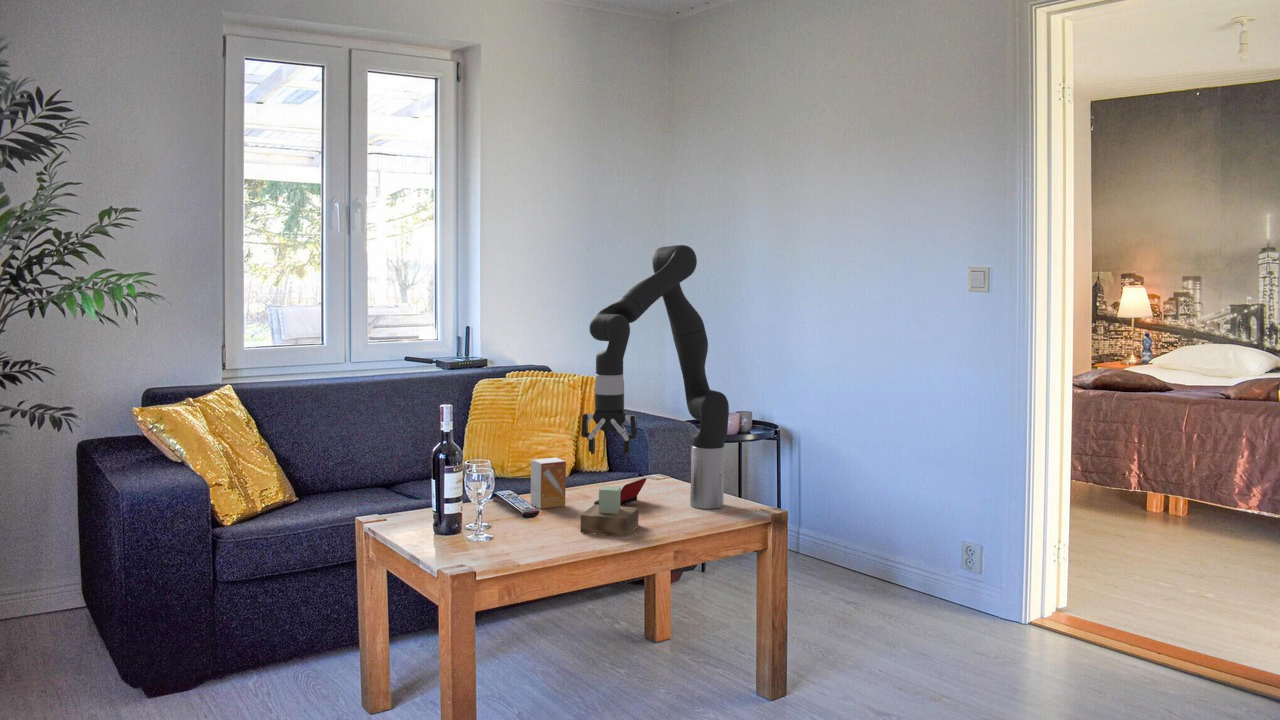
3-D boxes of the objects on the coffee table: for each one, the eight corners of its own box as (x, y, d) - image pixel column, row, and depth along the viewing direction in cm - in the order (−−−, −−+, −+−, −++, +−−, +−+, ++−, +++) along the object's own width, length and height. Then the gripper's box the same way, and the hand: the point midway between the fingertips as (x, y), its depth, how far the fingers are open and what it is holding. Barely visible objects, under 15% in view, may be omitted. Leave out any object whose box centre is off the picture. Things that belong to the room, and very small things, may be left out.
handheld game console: (615, 497, 294) (616, 472, 294) (647, 502, 289) (647, 477, 288) (592, 505, 284) (592, 480, 283) (624, 511, 278) (624, 485, 277)
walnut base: (638, 526, 262) (638, 507, 262) (625, 538, 251) (626, 518, 250) (594, 522, 266) (594, 504, 265) (580, 534, 254) (580, 514, 253)
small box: (540, 509, 277) (540, 463, 276) (530, 504, 282) (530, 459, 281) (566, 506, 282) (566, 460, 280) (555, 501, 287) (555, 456, 286)
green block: (620, 508, 260) (620, 486, 260) (618, 513, 256) (618, 490, 255) (601, 508, 261) (601, 485, 260) (598, 512, 256) (599, 489, 255)
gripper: (639, 390, 258) (638, 452, 260) (585, 389, 260) (585, 450, 262) (634, 394, 251) (634, 457, 252) (579, 392, 253) (579, 455, 255)
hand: (609, 454), depth 257 cm, fingers open, 8 cm apart
